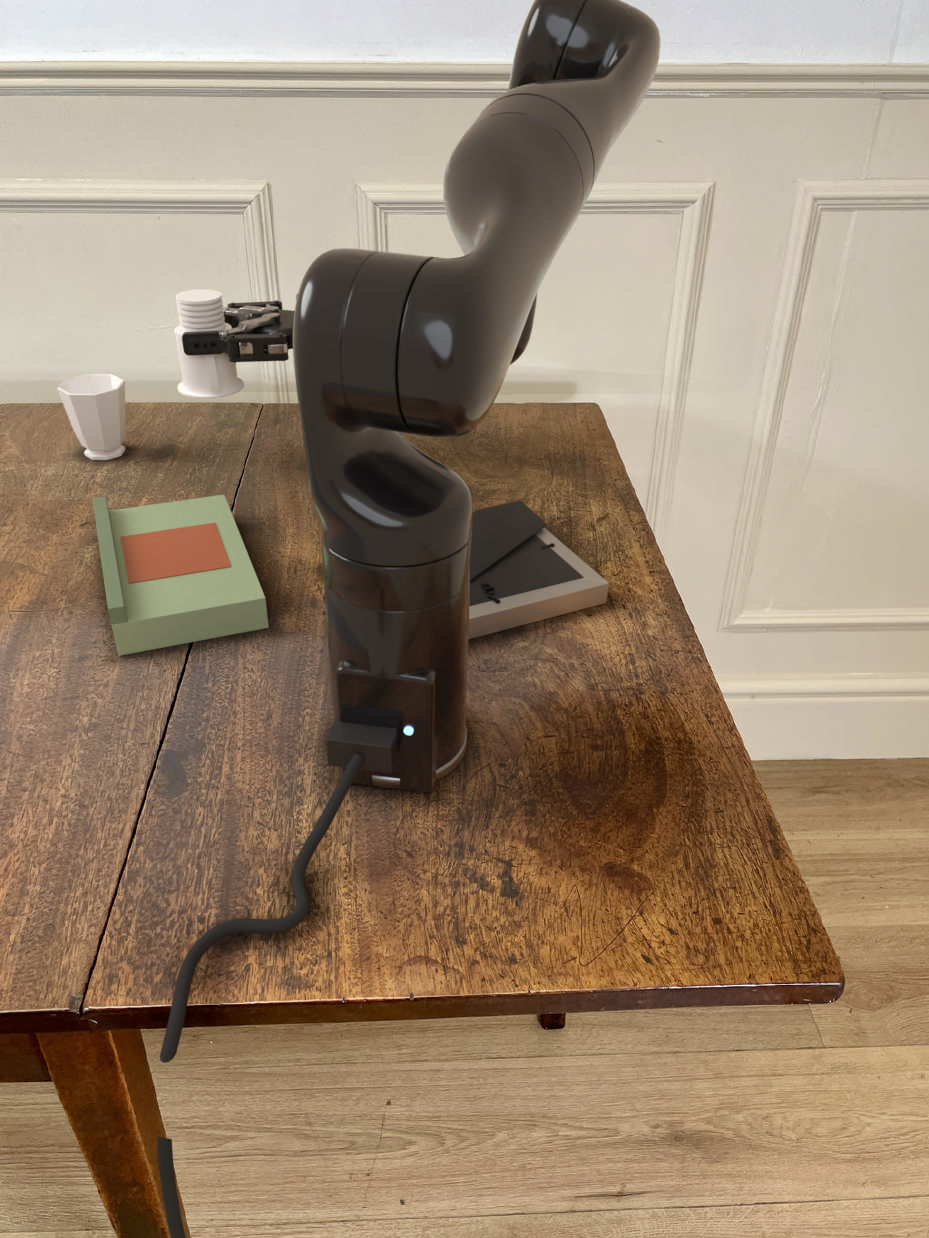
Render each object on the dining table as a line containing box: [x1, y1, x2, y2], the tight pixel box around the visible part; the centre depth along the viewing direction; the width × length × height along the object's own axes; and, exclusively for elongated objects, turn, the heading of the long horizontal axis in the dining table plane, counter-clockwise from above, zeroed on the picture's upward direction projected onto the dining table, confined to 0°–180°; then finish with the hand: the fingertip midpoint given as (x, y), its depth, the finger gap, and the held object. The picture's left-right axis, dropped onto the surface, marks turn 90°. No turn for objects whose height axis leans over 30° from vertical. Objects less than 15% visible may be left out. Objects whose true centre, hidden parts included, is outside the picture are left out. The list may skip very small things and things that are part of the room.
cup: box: [56, 373, 127, 461], centre depth 106 cm, size 7×10×8 cm
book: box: [92, 494, 270, 657], centre depth 83 cm, size 12×20×4 cm, turn 21°
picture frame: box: [321, 500, 610, 641], centre depth 84 cm, size 16×3×21 cm
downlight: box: [173, 288, 245, 400], centre depth 99 cm, size 8×7×10 cm
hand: (185, 333), depth 99 cm, fingers closed on downlight, 7 cm apart
